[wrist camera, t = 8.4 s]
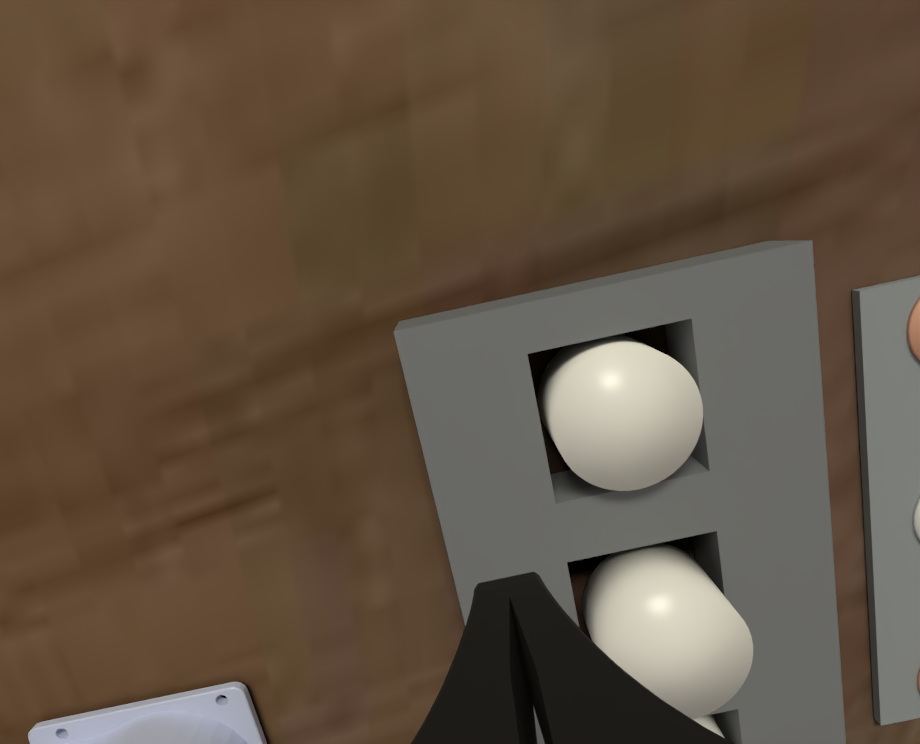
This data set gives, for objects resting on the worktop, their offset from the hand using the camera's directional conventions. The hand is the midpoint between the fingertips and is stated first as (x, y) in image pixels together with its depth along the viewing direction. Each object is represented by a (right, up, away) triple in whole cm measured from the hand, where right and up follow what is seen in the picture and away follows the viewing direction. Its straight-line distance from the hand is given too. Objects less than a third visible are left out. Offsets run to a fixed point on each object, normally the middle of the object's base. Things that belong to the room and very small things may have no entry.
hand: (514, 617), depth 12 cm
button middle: (+6, -4, +10) cm, 12 cm away
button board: (+6, -3, +12) cm, 13 cm away
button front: (+4, +4, +10) cm, 11 cm away
